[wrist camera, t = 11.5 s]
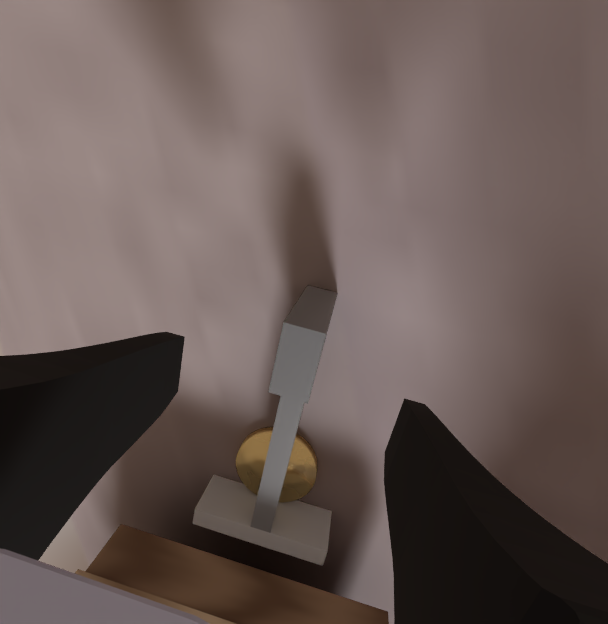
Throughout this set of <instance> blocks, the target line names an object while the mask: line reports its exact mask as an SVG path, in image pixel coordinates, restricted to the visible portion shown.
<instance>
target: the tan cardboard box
mask: <svg viewBox="0 0 608 624" xmlns="http://www.w3.org/2000/svg"><path fill="white" fill-rule="evenodd" d="M75 574H78V575H81V576H83V577H86V578H89V579H92V580H95V581H98V582H101V583H103V584H106V585H109V586H112V587H115V588H118V589H121V590H123V591H126V592H129V593H132V594H135V595H138V596H141V597H144V598H146V599H149V600H152V601H155V602H158V603H161V604H164V605H166V606H169V607H172V608H175V609H178V610H181V611H184V612H186V613H189V614H192V615H195V616H197V617H199V618H201V619H203V620H204V621H206V622H208V623H210V624H389V622H388V612H387V611H384V610H381V609H378V608H375V607H372V606H369V605H366V604H363V603H360V602H357V601H353V600H350V599H347V598H344V597H341V596H338V595H335V594H332V593H329V592H326V591H323V590H320V589H317V588H314V587H311V586H308V585H305V584H302V583H299V582H296V581H293V580H290V579H287V578H284V577H281V576H278V575H274V574H271V573H268V572H265V571H262V570H259V569H256V568H253V567H250V566H247V565H244V564H241V563H238V562H235V561H232V560H229V559H226V558H223V557H220V556H217V555H214V554H211V553H208V552H205V551H202V550H198V549H195V548H192V547H189V546H186V545H183V544H180V543H177V542H174V541H171V540H168V539H165V538H162V537H159V536H156V535H153V534H150V533H147V532H144V531H141V530H138V529H135V528H132V527H129V526H126V525H123V524H121V525H120V526H119V527H118V529H117V530H116V531H115V533H114V534H113V535H112V537H111V538H110V539H109V541H108V542H107V543H106V545H105V546H104V547H103V549H102V550H101V551H100V553H99V554H98V555H97V557H96V558H95V559H94V561H93V562H92V563H91V565H90V566H89V567H88V569H87V570H86V571H82V570H79V569H78V570H77V571H76V572H75Z"/></svg>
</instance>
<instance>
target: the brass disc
mask: <svg viewBox="0 0 608 624" xmlns="http://www.w3.org/2000/svg"><path fill="white" fill-rule="evenodd" d="M272 431H273V427H266V428H261V429H259V430H256V431H254V432H252V433H251V434H250V435H248V436H247V437H246V438H245V440H244V441H243V443H242V445H241V447H240V449H239V451H238V453H237V456H236V469H237V473H238V475H239V477H240V479H241V481H242V482H243V484H244V485H245V486H246V487H247V488H248V489H249V490H250V491H251V492H253V493H254V494H256V495H257V496H258V491H259V487H260V483H261V478H262V474H263V470H264V465H265V461H266V457H267V453H268V448H269V444H270V440H271V435H272ZM317 466H318V465H317V458H316V455H315V452H314V451H313V449H312V447H311V446H310V445H309V443H308V442H307V441H306V440H305V439H304V438H302V437H301V436H300V435H298V434H296V437H295V441H294V445H293V449H292V452H291V456H290V460H289V464H288V468H287V472H286V476H285V479H284V483H283V487H282V491H281V495H280V499H279V502H291V501H295V500H297V499H300V498H302V497H303V496H305V495H306V494H307V493H308V492H309V491H310V490H311V489H312V487H313V485H314V483H315V479H316V474H317Z"/></svg>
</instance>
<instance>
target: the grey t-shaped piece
mask: <svg viewBox="0 0 608 624" xmlns="http://www.w3.org/2000/svg"><path fill="white" fill-rule="evenodd" d="M336 297H337V293H336V292H332V291H329V290H325V289H321V288H317V287H313V286H309V285H308V286H307V287H306V289H305V290H304V292H303V293H302V295H301V296H300V298H299V299H298V301H297V303H296V304H295V306H294V307H293V309H292V310H291V312H290V313H289V315H288V316H287V318H286V319H285V321H284V323H283V327H282V332H281V336H280V341H279V345H278V350H277V355H276V359H275V364H274V368H273V373H272V377H271V382H270V387H269V391H268V392H269V393H272V394H276V395H279V396H281V397H280V401H279V405H278V410H277V414H276V418H275V423H274V427H273V431H272V435H271V440H270V444H269V448H268V453H267V457H266V461H265V465H264V470H263V474H262V478H261V483H260V487H259V491H258V496H257V495H256V494H254V493H253V492H251V491H250V490H249V489H248V488H247V487H246V486H245V485H244V484H243V483H240V482H236V481H233V480H230V479H227V478H223V477H220V476H217V475H213V476H212V478H211V480H210V482H209V484H208V486H207V487H206V489H205V491H204V493H203V495H202V497H201V498H200V500H199V502H198V504H197V506H196V508H195V511H194V517H193V524H195V525H198V526H201V527H204V528H207V529H210V530H213V531H216V532H220V533H223V534H226V535H229V536H232V537H235V538H238V539H241V540H244V541H247V542H250V543H253V544H257V545H260V546H263V547H266V548H269V549H272V550H275V551H278V552H281V553H284V554H287V555H290V556H294V557H297V558H300V559H303V560H306V561H309V562H312V563H315V564H318V565H321V566H323V563H324V561H325V558H326V555H327V552H328V543H329V533H330V523H331V513H332V511H330V510H327V509H323V508H320V507H317V506H314V505H310V504H307V503H304V502H301V501H298V500H295V501H291V502H279V499H280V495H281V491H282V487H283V483H284V479H285V476H286V472H287V468H288V464H289V460H290V456H291V452H292V449H293V445H294V441H295V437H296V433H297V429H298V426H299V422H300V418H301V414H302V410H303V406H304V403H307V404H308V401H309V397H310V394H311V390H312V386H313V383H314V379H315V375H316V372H317V368H318V364H319V361H320V357H321V353H322V350H323V346H324V342H325V339H326V335H327V331H328V327H329V323H330V320H331V316H332V312H333V308H334V305H335V301H336Z"/></svg>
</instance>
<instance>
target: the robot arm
mask: <svg viewBox="0 0 608 624" xmlns="http://www.w3.org/2000/svg"><path fill="white" fill-rule="evenodd" d="M183 345H184V337H183V336H180V335H176V334H173V333H169V332H160V333H154V334H148V335H143V336H138V337H133V338H128V339H124V340H119V341H114V342H109V343H104V344H99V345H93V346H87V347H82V348H76V349H70V350H63V351H56V352H47V353H37V354H27V355H12V356H0V624H210V623H208V622H206V621H204V620H203V619H201V618H199V617H197V616H195V615H192V614H189V613H186V612H184V611H181V610H178V609H175V608H172V607H169V606H166V605H164V604H161V603H158V602H155V601H152V600H149V599H146V598H144V597H141V596H138V595H135V594H132V593H129V592H126V591H123V590H121V589H118V588H115V587H112V586H109V585H106V584H103V583H101V582H98V581H95V580H92V579H89V578H86V577H83V576H81V575H78V574H75V573H72V572H69V571H66V570H63V569H60V568H57V567H55V566H52V565H49V564H46V563H43V562H40V561H38V560H39V559H40V557H41V556H42V554H43V553H44V552H45V550H46V549H47V547H48V546H49V545H50V543H51V542H52V541H53V539H54V538H55V537H56V535H57V534H58V533H59V531H60V530H61V529H62V527H63V526H64V525H65V523H66V522H67V521H68V519H69V518H70V517H71V515H72V514H73V513H74V511H75V510H76V509H77V508H78V506H79V505H80V504H81V502H82V501H83V500H84V499H85V497H86V496H87V495H88V494H89V492H90V491H91V490H92V489H93V487H94V486H95V485H96V484H97V482H98V481H99V480H100V479H101V478H102V476H103V475H104V474H105V473H106V472H107V471H108V470H109V469H110V467H111V466H112V465H113V464H114V463H115V462H116V461H117V460H118V459H119V458H120V457H121V456H122V455H123V454H124V453H125V452H126V451H127V450H128V449H129V448H130V447H131V446H132V445H133V444H134V443H135V442H136V441H137V440H138V438H139V437H140V436H141V435H142V434H143V433H144V432H145V431H146V430H147V429H148V428H149V427H150V426H151V425H152V424H153V423H154V422H155V421H156V420H157V418H158V417H159V416H160V415H161V414H162V413H163V411H164V410H165V409H166V407H167V406H168V405H169V403H170V402H171V400H172V399H173V397H174V396H175V394H176V393H177V392H178V386H179V378H180V369H181V361H182V353H183ZM384 485H385V495H386V505H387V514H388V522H389V531H390V540H391V548H392V557H393V571H394V614H395V624H608V563H606V562H604V561H603V560H601V559H600V558H598V557H597V556H595V555H594V554H592V553H591V552H589V551H588V550H586V549H585V548H584V547H582V546H581V545H579V544H578V543H576V542H575V541H573V540H572V539H571V538H569V537H568V536H566V535H565V534H564V533H562V532H561V531H560V530H558V529H557V528H556V527H554V526H553V525H552V524H550V523H549V522H548V521H546V520H545V519H544V518H542V517H541V516H540V515H538V514H537V513H536V512H535V511H533V510H532V509H531V508H530V507H528V506H527V505H526V504H525V503H524V502H522V501H521V500H520V499H519V498H518V497H517V496H515V495H514V494H513V493H512V492H511V491H509V490H508V489H507V488H506V487H505V486H504V485H502V484H501V483H500V482H499V481H498V480H497V479H496V478H495V477H494V476H493V475H492V474H491V473H490V472H489V471H488V470H487V469H485V468H484V467H483V466H482V465H481V464H480V463H479V462H478V461H477V460H476V459H475V458H474V457H473V456H472V455H471V454H470V453H469V451H468V450H467V449H466V448H465V447H464V446H463V445H462V444H461V443H460V442H459V441H458V440H457V439H456V438H455V436H454V435H453V434H452V433H451V432H450V431H449V430H448V429H447V428H446V426H445V425H444V424H443V423H442V422H441V421H440V420H439V419H438V418H437V416H436V415H435V414H434V413H433V412H432V411H431V410H430V409H429V408H428V407H427V406H426V405H425V404H422V403H418V402H415V401H411V400H408V399H404V401H403V404H402V407H401V410H400V412H399V415H398V418H397V421H396V423H395V426H394V429H393V431H392V434H391V437H390V440H389V442H388V445H387V448H386V451H385V465H384Z"/></svg>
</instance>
